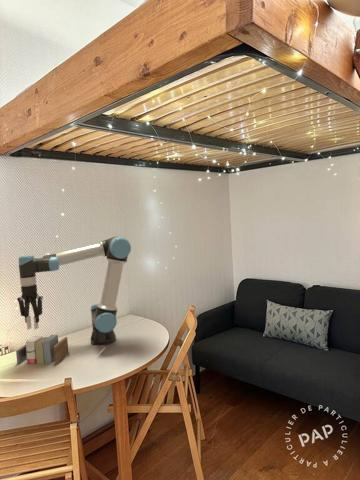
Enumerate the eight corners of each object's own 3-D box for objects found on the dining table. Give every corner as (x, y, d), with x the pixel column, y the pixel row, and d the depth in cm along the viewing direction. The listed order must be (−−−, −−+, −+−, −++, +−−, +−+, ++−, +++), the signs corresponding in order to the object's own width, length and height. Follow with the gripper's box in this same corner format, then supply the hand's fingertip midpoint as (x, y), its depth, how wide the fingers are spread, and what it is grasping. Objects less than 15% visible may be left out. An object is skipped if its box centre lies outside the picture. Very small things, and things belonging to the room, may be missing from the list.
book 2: (59, 356, 179) (57, 334, 178) (51, 363, 170) (49, 341, 169) (53, 356, 180) (51, 335, 179) (44, 363, 171) (42, 341, 170)
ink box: (35, 364, 171) (33, 341, 171) (26, 364, 172) (24, 341, 171) (44, 356, 180) (42, 335, 179) (36, 357, 181) (34, 335, 180)
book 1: (52, 356, 179) (50, 337, 178) (44, 363, 171) (42, 343, 170) (45, 357, 180) (43, 337, 179) (36, 363, 171) (34, 343, 171)
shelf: (68, 356, 181) (67, 337, 180) (57, 367, 168) (55, 346, 168) (29, 357, 184) (27, 337, 183) (15, 367, 171) (13, 347, 170)
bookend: (30, 356, 181) (28, 344, 181) (20, 364, 172) (18, 350, 172) (27, 356, 181) (26, 344, 181) (17, 364, 173) (16, 351, 172)
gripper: (47, 282, 176) (51, 325, 178) (18, 284, 178) (22, 326, 180) (39, 285, 169) (43, 330, 170) (9, 287, 171) (14, 331, 172)
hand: (33, 328), depth 175 cm, fingers open, 3 cm apart
